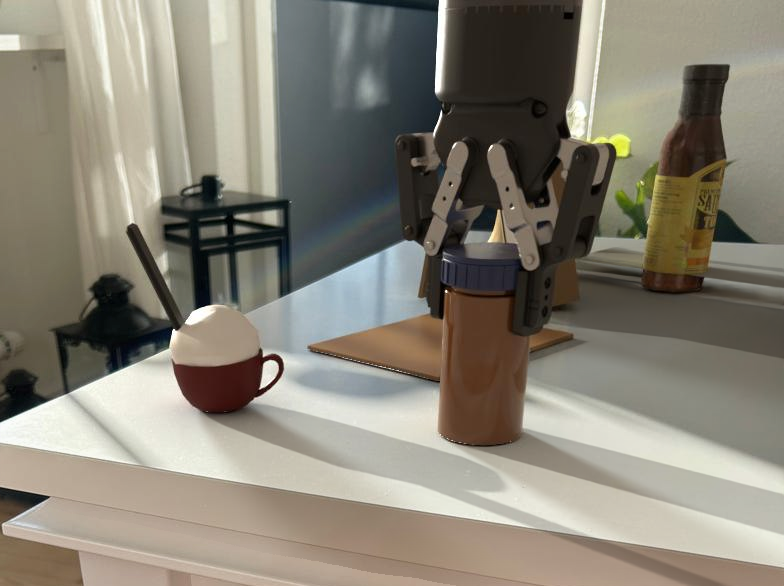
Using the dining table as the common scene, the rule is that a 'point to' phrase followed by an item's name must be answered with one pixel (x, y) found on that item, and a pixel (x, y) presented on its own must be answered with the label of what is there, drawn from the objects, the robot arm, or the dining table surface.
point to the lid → (481, 266)
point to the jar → (481, 368)
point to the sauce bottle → (688, 185)
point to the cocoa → (209, 347)
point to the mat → (410, 345)
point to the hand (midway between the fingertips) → (485, 324)
